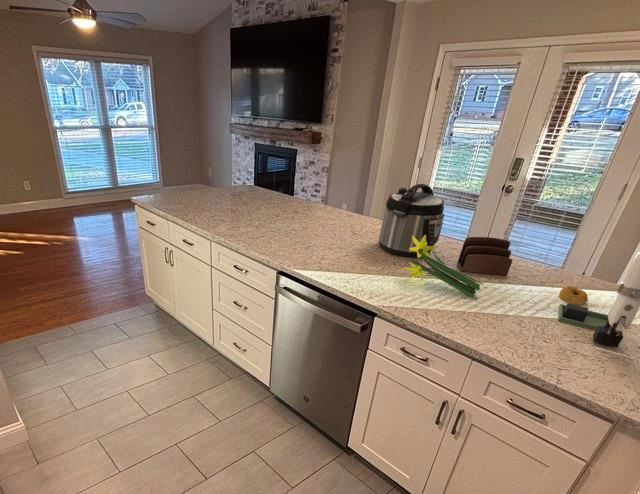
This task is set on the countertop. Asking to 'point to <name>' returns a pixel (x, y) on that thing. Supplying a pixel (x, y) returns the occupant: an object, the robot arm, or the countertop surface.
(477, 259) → the letter holder
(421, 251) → the daffodil flowers
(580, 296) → the bagel
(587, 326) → the tray
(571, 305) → the seated pad
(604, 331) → the loose pad
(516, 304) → the countertop surface
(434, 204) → the pressure cooker
